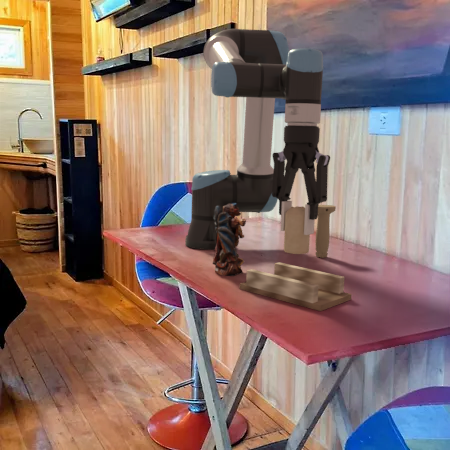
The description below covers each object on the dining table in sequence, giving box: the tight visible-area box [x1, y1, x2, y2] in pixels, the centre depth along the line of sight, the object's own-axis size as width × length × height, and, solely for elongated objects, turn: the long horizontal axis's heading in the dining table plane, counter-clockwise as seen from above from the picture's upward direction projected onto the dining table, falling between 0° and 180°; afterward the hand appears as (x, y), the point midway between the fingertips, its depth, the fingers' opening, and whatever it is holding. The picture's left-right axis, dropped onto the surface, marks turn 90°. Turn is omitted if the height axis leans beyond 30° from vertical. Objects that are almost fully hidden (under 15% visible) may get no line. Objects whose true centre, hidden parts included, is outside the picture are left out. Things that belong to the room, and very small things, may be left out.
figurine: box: [212, 203, 247, 277], centre depth 143 cm, size 11×9×18 cm
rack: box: [239, 261, 353, 312], centre depth 126 cm, size 22×12×5 cm, turn 47°
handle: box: [315, 204, 337, 259], centre depth 163 cm, size 5×6×15 cm
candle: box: [283, 205, 311, 255], centre depth 124 cm, size 6×6×10 cm
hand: (297, 231), depth 124 cm, fingers closed on candle, 5 cm apart
